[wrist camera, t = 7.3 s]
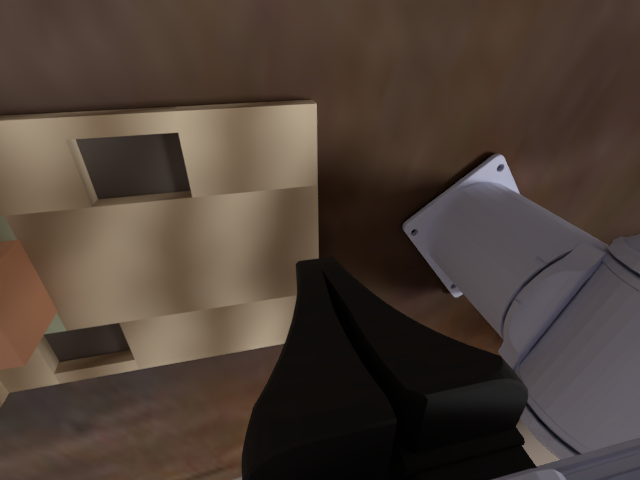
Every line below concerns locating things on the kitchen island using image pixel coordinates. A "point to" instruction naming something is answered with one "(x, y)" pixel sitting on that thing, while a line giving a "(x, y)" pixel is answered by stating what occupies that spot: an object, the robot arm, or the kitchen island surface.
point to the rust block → (21, 306)
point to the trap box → (159, 231)
